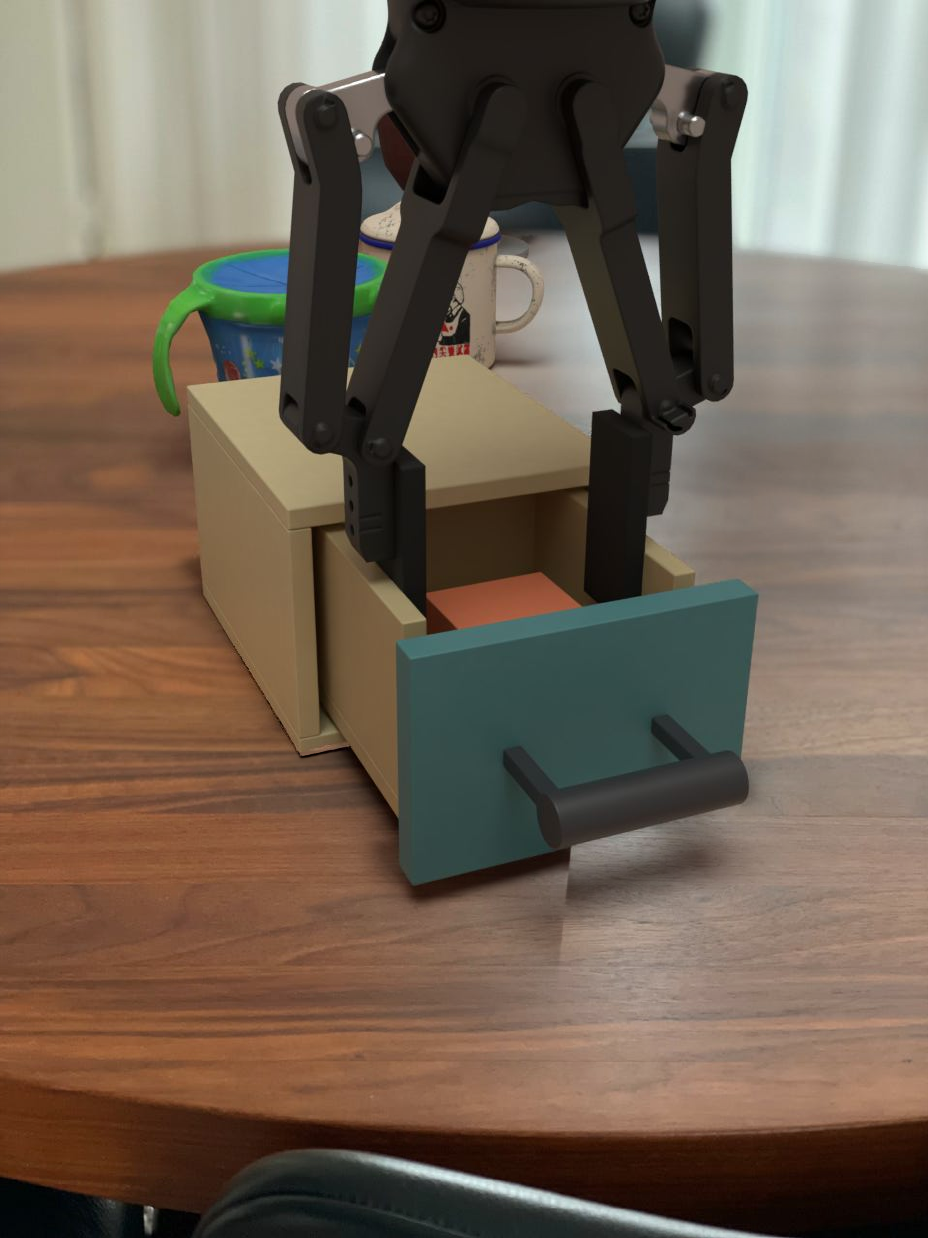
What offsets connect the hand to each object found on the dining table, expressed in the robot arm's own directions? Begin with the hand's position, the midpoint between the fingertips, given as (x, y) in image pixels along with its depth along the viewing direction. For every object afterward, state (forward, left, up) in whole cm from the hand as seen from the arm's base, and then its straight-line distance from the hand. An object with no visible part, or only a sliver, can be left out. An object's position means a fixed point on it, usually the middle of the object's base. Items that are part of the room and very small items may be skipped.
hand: (508, 622), depth 48 cm
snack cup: (+15, -32, -6) cm, 35 cm away
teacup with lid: (+9, -50, -6) cm, 51 cm away
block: (0, 0, -4) cm, 4 cm away
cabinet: (+6, -10, -6) cm, 13 cm away
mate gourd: (+13, -83, -6) cm, 84 cm away
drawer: (-1, +1, -5) cm, 5 cm away
